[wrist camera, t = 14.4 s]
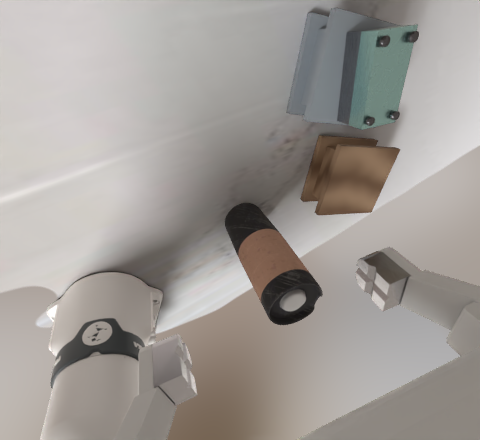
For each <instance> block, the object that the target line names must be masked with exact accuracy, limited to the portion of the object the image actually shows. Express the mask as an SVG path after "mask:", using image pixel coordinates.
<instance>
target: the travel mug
mask: <svg viewBox="0 0 480 440" xmlns="http://www.w3.org/2000/svg"><path fill="white" fill-rule="evenodd" d="M225 226H226V229H227V231H228V234H229V236H230V239H231V241H232V243H233V245H234V248H235V250H236V252H237V255H238V257H239V259H240V261H241V263H242V265H243V267H244V269H245V271H246V273H247V275H248V277H249V279H250V281H251V283H252V285H253V287H254V289H255V291H256V293H257V295H258V297H259V299H260V301H261V303H262V305H263V307H264V309H265V311H266V313H267V315H268V317H269V319H270V320H271V321H272V322H273V323H275V324H278V325H288V324H292V323H295V322H297V321H300V320H302V319H303V318H305V317H307V316H308V315H309V314H311V313H312V312H313V310H314V305H315V302H316V301H317V299H318V298H319V297H320V296H322V290H321V288H320V286H319V285H318V283H317V282H316V281H315V279H314V278H313V277H312V275H311V274H310V273H309V271H308V270H307V269H306V268H305V266H304V265H303V263H302V262H301V261H300V259H299V258H298V257H297V255H296V254H295V253H294V251H293V250H292V249H291V247H290V246H289V245H288V243H287V242H286V240H285V239H284V238H283V236H282V235H281V234H280V233H279V231H278V230H277V229H276V228H275V227H274V225H273V224H272V223H271V222H270V221H269V219H268V218H267V217H266V216H265V215H264V214H263V212H262V211H261V210H260V209H259V208H258V207H257V206H255V205H254V204H250V203H244V204H240V205H238V206H236V207H234V208H233V209H232V210H231V211H230V212H229V213H228V215H227V217H226V220H225Z"/></svg>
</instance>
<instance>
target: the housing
mask: <svg viewBox="0 0 480 440" xmlns="http://www.w3.org/2000/svg"><path fill="white" fill-rule="evenodd" d="M417 27H418V25H406V26H393V27H381V28H374V29H367V30H360V31H353V32H347V33H346V43H345V52H344V61H343V70H342V80H341V89H340V98H339V107H338V116H337V121H339V122H342V123H345V124H347V125H350V126H353V127H355V128H358V129H361V130H363V129H368V128H372V127H376V126H380V125H385V124H389V123H393V122H395V120H397V119H398V117H399V115H400V113H399V112H397V111H398V107H399V103H400V99H401V95H402V90H403V86H404V82H405V78H406V73H407V69H408V65H409V61H410V56H411V52H412V48H413V44H414V42H415V41H416V40H417V39H418V36H419V33H418V31H417Z"/></svg>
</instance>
